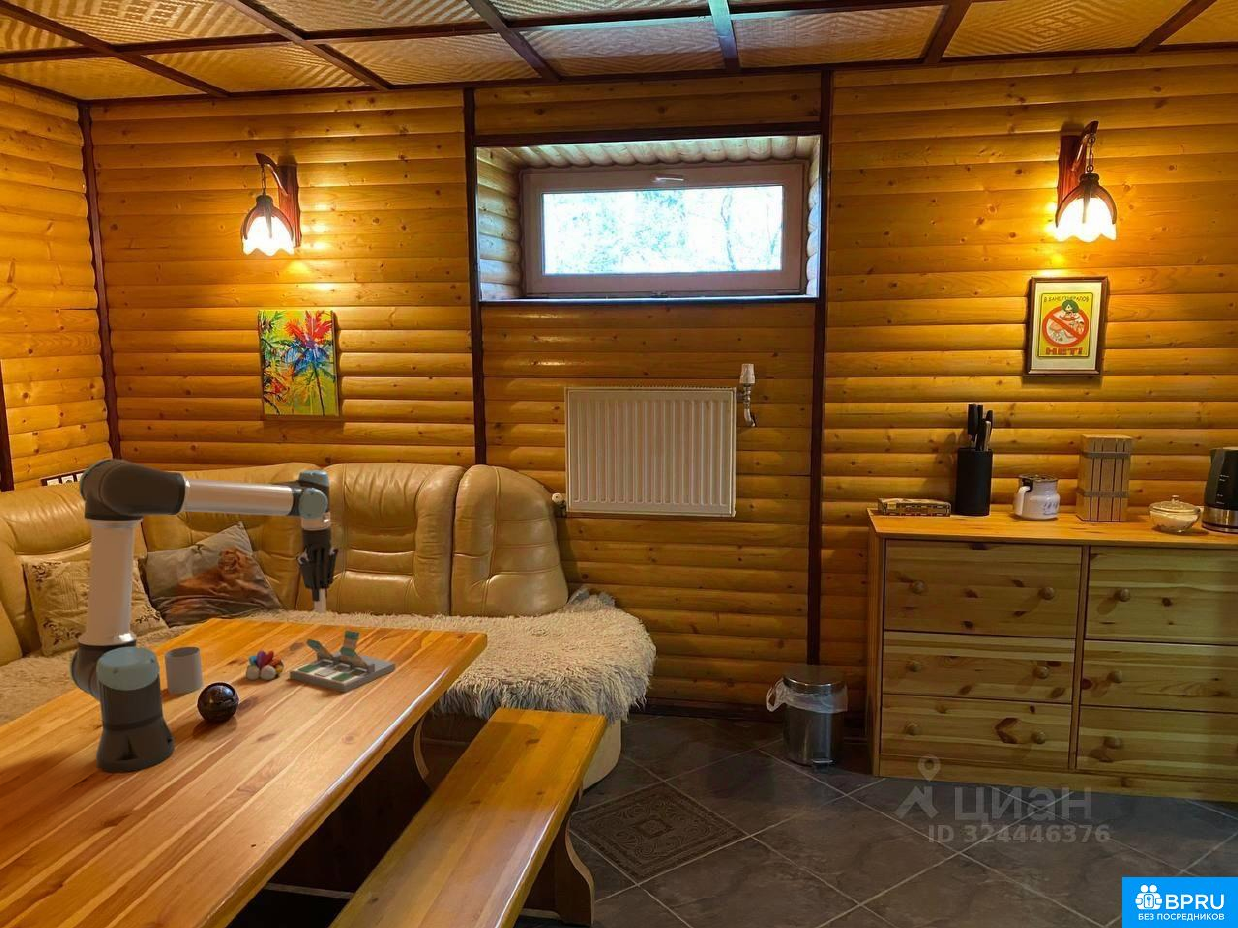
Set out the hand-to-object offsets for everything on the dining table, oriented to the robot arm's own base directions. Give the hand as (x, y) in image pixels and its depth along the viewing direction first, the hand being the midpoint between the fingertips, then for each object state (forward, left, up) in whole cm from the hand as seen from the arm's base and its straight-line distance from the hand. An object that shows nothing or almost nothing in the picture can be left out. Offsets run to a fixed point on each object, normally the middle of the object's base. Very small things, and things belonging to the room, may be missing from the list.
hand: (320, 611), depth 239 cm
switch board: (+1, -7, -17) cm, 18 cm away
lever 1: (+2, 0, -14) cm, 14 cm away
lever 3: (+2, -13, -14) cm, 19 cm away
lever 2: (+2, -7, -14) cm, 16 cm away
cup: (-26, +23, -17) cm, 39 cm away
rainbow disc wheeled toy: (-10, +11, -17) cm, 23 cm away
